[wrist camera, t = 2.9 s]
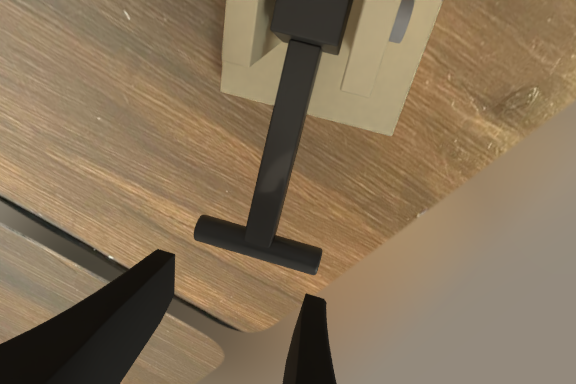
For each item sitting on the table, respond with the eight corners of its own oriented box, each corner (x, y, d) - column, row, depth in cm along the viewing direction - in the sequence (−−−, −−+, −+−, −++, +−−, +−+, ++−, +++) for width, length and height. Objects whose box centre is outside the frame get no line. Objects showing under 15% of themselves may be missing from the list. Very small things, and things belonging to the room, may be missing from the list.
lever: (317, 261, 16) (313, 289, 13) (206, 229, 16) (184, 250, 14) (400, -18, 13) (413, -45, 10) (261, -50, 13) (244, -82, 11)
